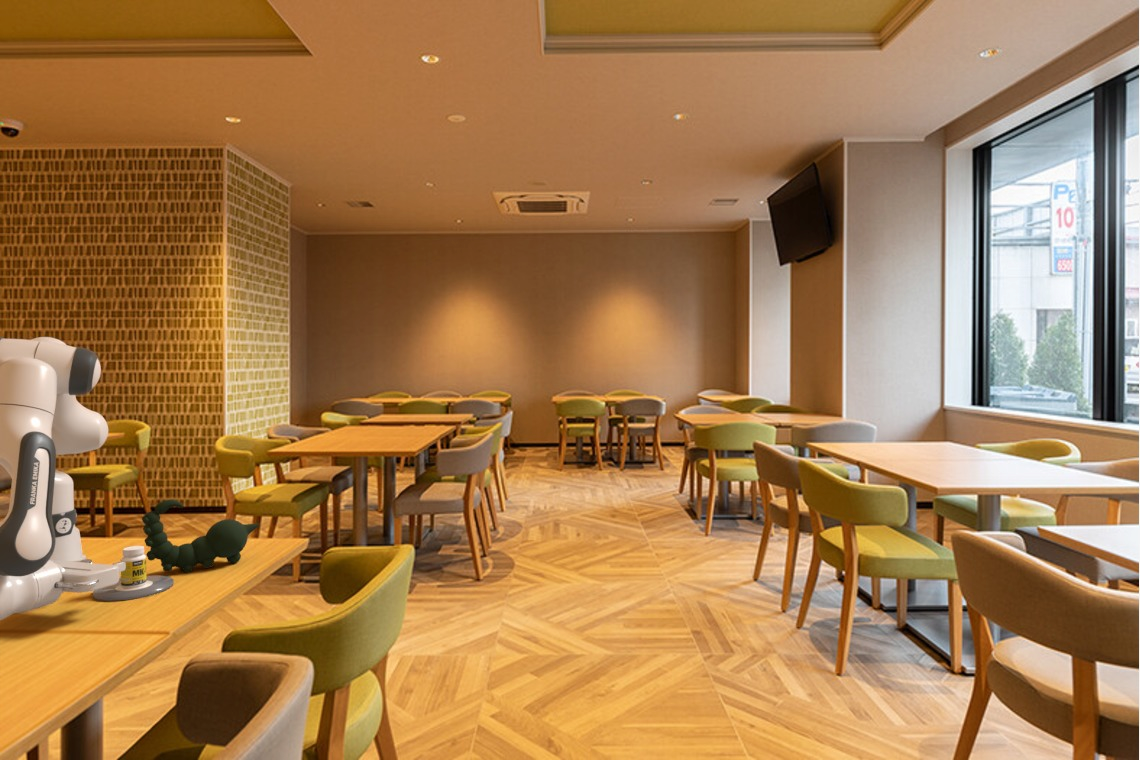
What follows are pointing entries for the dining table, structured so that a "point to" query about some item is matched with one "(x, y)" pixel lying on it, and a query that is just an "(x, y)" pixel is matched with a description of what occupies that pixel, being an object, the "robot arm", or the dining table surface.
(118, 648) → the dining table surface
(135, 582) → the supplement bottle
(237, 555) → the toy figurine
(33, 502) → the robot arm
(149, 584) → the charcoal plate
